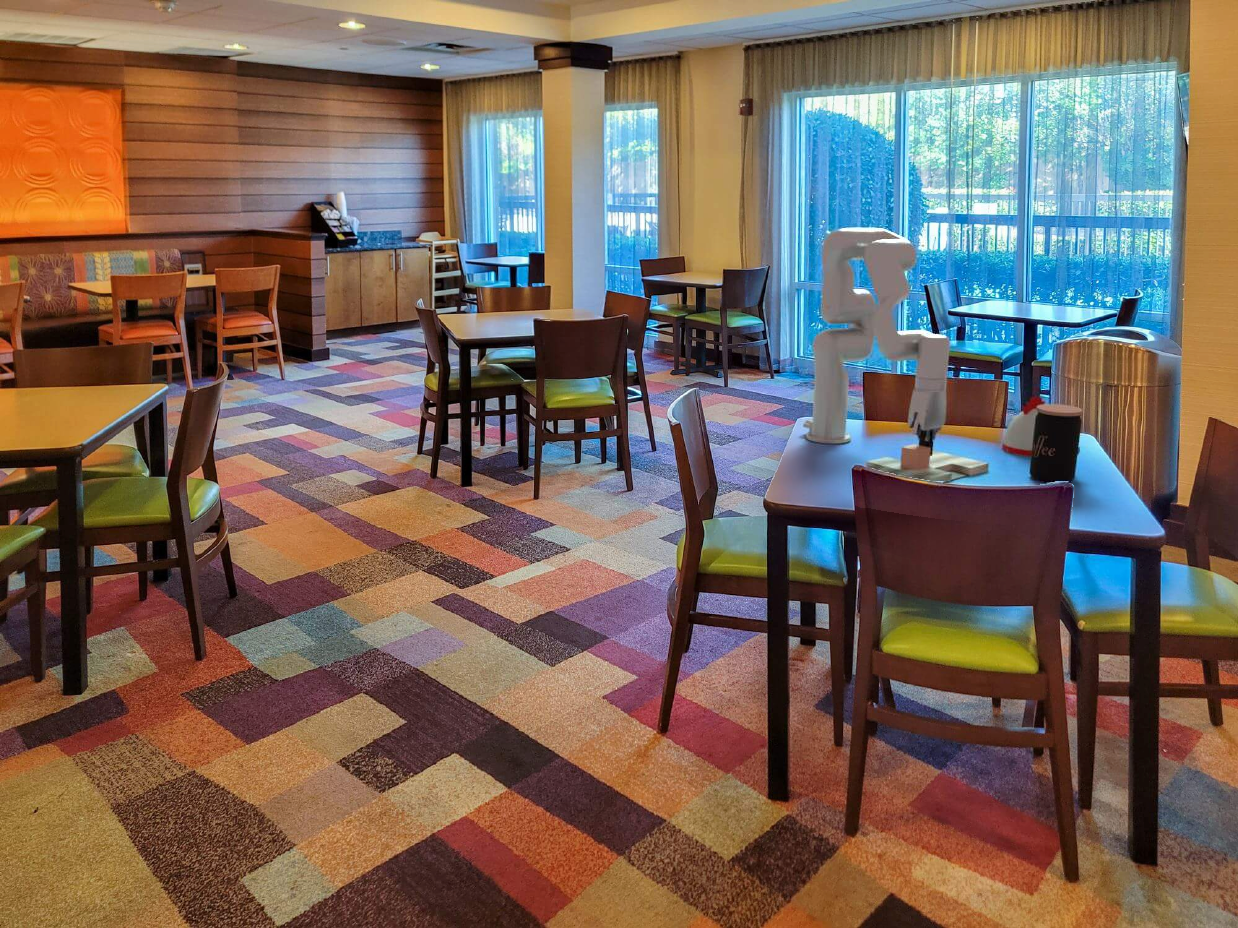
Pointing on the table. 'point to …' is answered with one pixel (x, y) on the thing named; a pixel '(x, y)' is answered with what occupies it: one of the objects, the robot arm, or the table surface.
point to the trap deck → (933, 467)
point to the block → (915, 457)
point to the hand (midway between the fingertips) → (925, 455)
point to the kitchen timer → (1022, 429)
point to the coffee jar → (1055, 443)
